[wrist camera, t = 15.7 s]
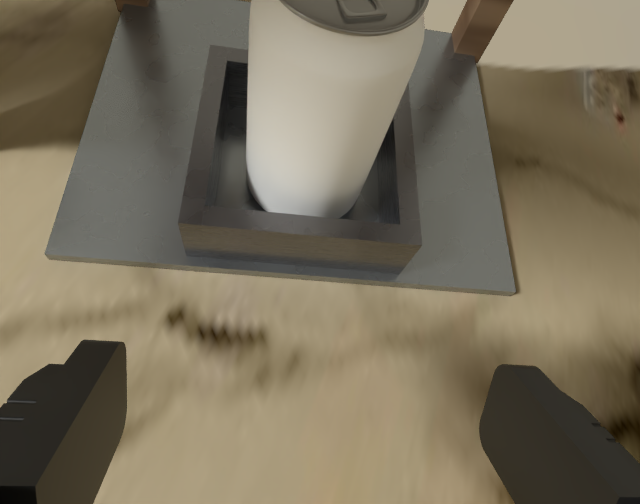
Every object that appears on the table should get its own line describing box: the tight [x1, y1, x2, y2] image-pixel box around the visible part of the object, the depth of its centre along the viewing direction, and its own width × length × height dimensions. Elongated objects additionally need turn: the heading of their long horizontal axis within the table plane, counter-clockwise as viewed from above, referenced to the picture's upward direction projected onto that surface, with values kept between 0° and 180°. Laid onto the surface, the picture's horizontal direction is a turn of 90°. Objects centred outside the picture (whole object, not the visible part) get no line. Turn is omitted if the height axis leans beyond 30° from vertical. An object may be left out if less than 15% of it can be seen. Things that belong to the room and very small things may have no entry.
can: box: [246, 0, 429, 219], centre depth 20 cm, size 6×6×12 cm
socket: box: [45, 0, 516, 296], centre depth 26 cm, size 20×24×4 cm
